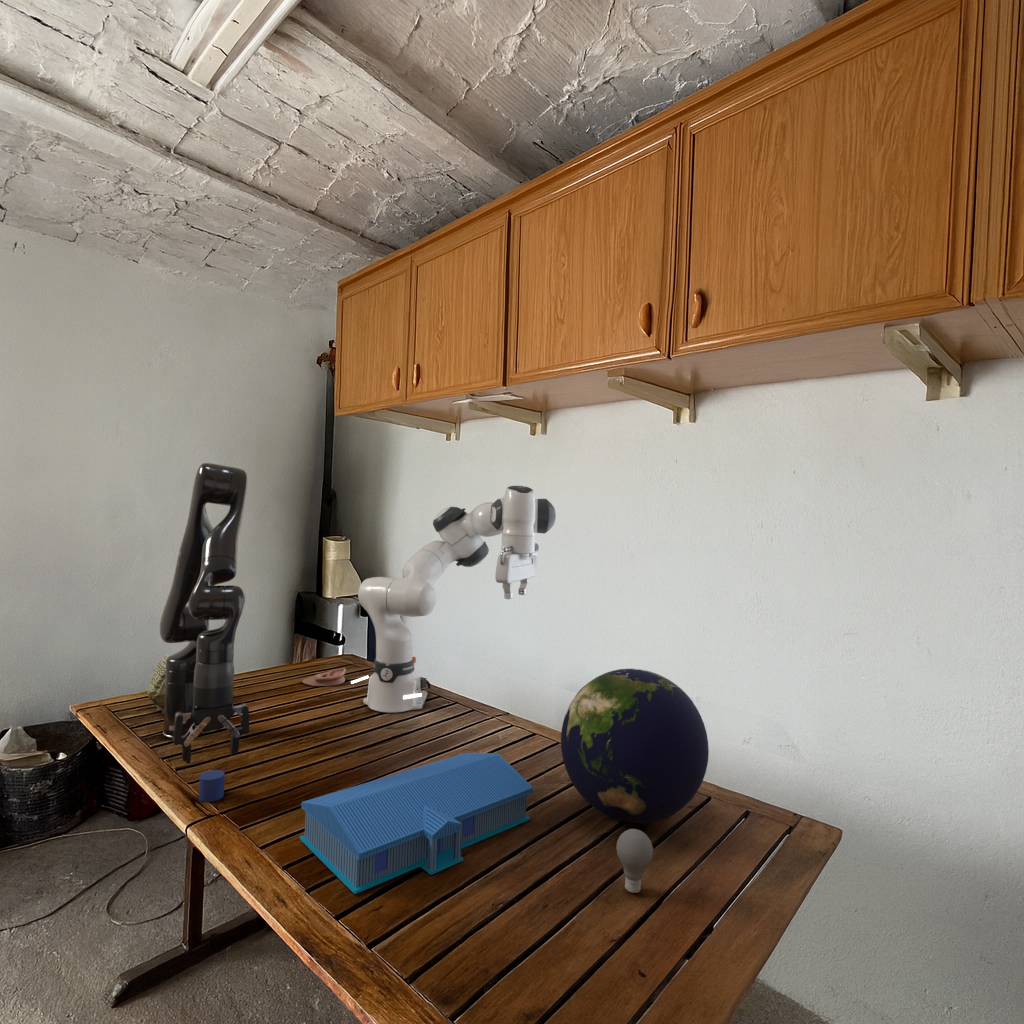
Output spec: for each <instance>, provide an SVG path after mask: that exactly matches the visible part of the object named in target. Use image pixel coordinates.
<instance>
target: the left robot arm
mask: <svg viewBox="0 0 1024 1024" xmlns="http://www.w3.org/2000/svg"><path fill="white" fill-rule="evenodd" d="M247 493H248V476H247V472H246V471H245V470H244V469H242V468H240V467H234V466H229V465H225V464H224V465H223V464H218V463H212V462H203V463H201V464H200V465H199V467H198V468H197V470H196V473H195V477H194V480H193V487H192V492H191V498H190V500H191V501H190V504H189V510H188V517H187V521H186V525H185V529H184V533H183V536H182V540H181V543H180V547H179V550H178V555H177V559H176V563H175V570H174V575H173V579H172V582H171V583H172V584H171V587H170V591H169V593H168V596H167V599H166V602H165V604H164V606H163V607H164V608H163V610H162V613H161V616H160V621H159V636H160V638H161V640H162V641H163V642H164V643H167V644H178V643H188V644H187V645H186V646H184V647H183V648H182V649H180V650H179V651H177V652H175V653H173V654H170V655H171V656H169V657H168V658H167V660H166V674H165V705H164V708H163V709H162V711H161V714H162V716H163V731H162V737H164V738H166V739H169V740H172V742H173V745H176V746H178V745H180V746H181V758H182V761H183V762H185V764H188V765H189V764H191V761H192V760H191V759H192V758H191V757H192V745H191V744H192V743H193V742H194V740H195V739H196V738H197V737H199V735H202V734H203V732H204V733H209V732H212V731H221V730H222V729H223V728H224V729H226V730H227V731H228V732H229V734H230V739H229V741H230V742H229V754H230V756H231V757H235V756H236V753H238V752H239V750H240V737H241V736H243V735H248V734H249V733H250V708H249V706H248V705H247V703H246V702H242V703H241V704H240V705H235V706H234V685H235V684H234V683H235V664H234V658H235V657H234V656H235V654H234V653H235V638H236V633H237V628H238V626H239V623H240V620H241V617H242V615H243V611H244V608H245V606H246V593H245V591H244V590H243V589H242V587H241V586H239V585H230V584H229V585H227V584H226V585H220V584H224V583H228V582H230V581H232V580H233V579H235V577H236V575H237V572H238V549H239V538H240V533H241V527H242V523H243V517H244V511H245V505H246V499H247ZM207 504H213V505H220V506H227V507H229V509H228V511H227V513H226V515H224V516H223V519H221V520H220V522H219V523H218V524H217V525H215V527H213V525H212V523H211V521H210V519H209V516H208V513H207V509H206V505H207ZM219 620H220V621H221V620H222V621H223V620H224V621H225V622H224V623H223V624H222V625H221V626H219V627H216V628H213V629H210V621H219ZM235 713H236V714H237V715H238V717H240V727H238V728H236V726H235V725H234V724H233V722H231V721H230V720H231V719H232V717H233V716H234V715H235Z"/></svg>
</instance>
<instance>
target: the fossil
mask: <svg viewBox="0 0 1024 1024" xmlns="http://www.w3.org/2000/svg"><path fill="white" fill-rule="evenodd" d="M171 655H172V654H165V655H164V656H163V657H162V658H161V659H160V660H159V662H158V663H157V666H156V667H155V669H154V670H153V672H152V675H151V677H150V680H149V684H148V688H147V697H148V699H149V700H150V701H152V703H153V704H154V706H155V711H158V712H159V711H161V712H162V709H163V708H164V705H165V674H166V660H167V658H168V657H169V656H171Z"/></svg>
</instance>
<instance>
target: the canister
mask: <svg viewBox="0 0 1024 1024" xmlns="http://www.w3.org/2000/svg"><path fill="white" fill-rule="evenodd" d="M225 774H226V773H225V771H224V770H222V769H221V770H220V769H212V770H207V771H204V772H202V773H201V774H199V780H198V782H199V784H198V800H199V801H200V802H203V803H204V802H205V803H209V802H210V803H211V802H216V801H218V800H221V799H222V798H224V795H225V777H226V775H225Z"/></svg>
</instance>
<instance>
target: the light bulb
mask: <svg viewBox="0 0 1024 1024" xmlns="http://www.w3.org/2000/svg"><path fill="white" fill-rule="evenodd" d="M615 849H616V854H617V857H618V859H619V861H620V863H621V865H622V867H623V873H624V874H623V875H624V876H625V878H624V888H625V890H627V891H628V892H630V893H634V894H635V893H639V892H640V891H641V889H642V887H641V886H642V879H643V877H644V875H645V871H646V868H647V867H648V866H649V864H650V863H651V861H652V859H653V855H654V847H653V843H652V841H651V838H649V836H648V835H647V834H646V833H645V832H643V831H642V830H641V829H636V828H629V829H627V830H625V831H623V832H622V833H621V834H620V835H619V837H618V839H617V841H616V847H615Z"/></svg>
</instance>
